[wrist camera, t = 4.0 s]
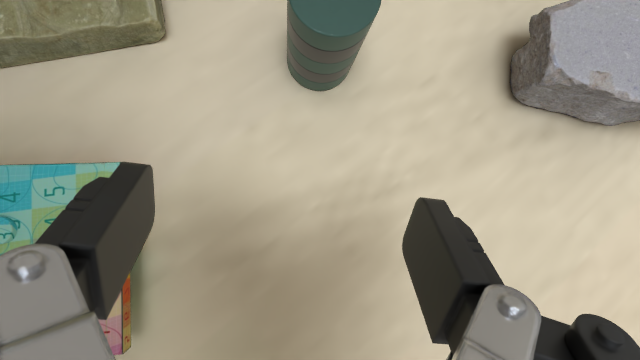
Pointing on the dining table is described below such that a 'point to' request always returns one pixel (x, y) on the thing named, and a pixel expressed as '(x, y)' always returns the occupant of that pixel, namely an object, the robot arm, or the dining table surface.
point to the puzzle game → (43, 208)
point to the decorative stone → (582, 61)
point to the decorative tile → (74, 27)
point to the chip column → (326, 38)
